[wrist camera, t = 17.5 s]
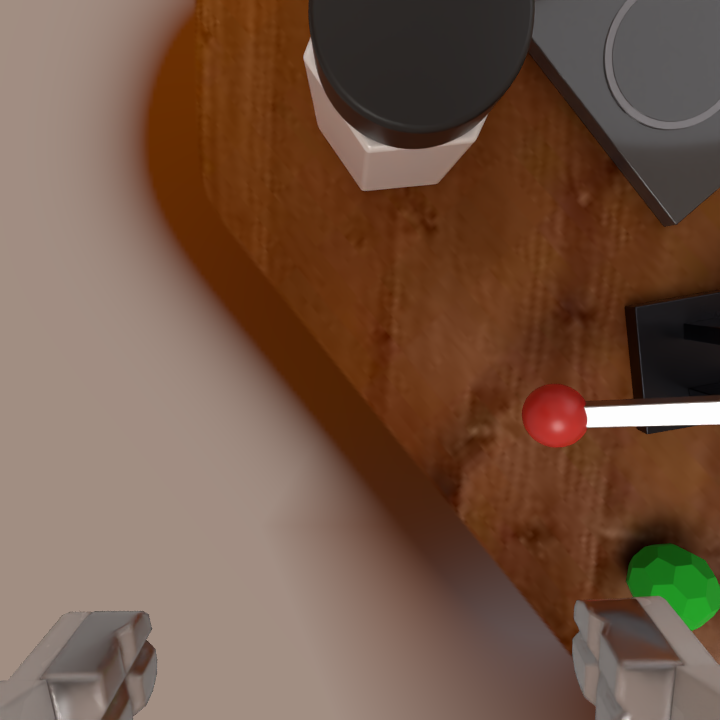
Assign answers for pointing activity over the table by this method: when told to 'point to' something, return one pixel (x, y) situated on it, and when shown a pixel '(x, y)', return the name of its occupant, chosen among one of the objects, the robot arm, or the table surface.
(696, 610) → the polyhedron
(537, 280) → the table surface
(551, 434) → the switch lever
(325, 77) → the jar
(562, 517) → the table surface
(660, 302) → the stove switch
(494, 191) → the table surface
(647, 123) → the glass hob
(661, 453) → the table surface
